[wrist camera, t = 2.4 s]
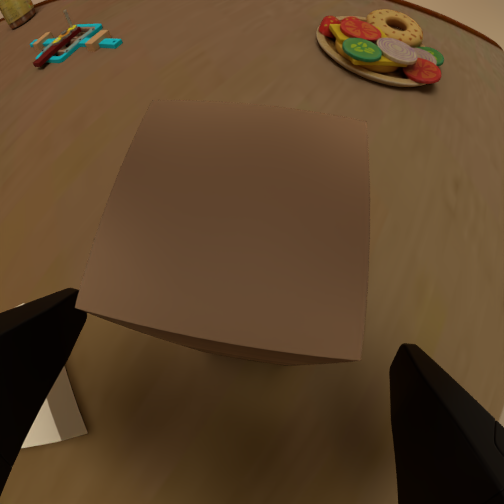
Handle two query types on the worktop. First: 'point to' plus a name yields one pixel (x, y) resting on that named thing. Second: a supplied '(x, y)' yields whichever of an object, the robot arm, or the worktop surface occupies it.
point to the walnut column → (238, 233)
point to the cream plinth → (57, 416)
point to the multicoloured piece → (72, 42)
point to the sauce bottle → (17, 11)
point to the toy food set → (381, 48)
